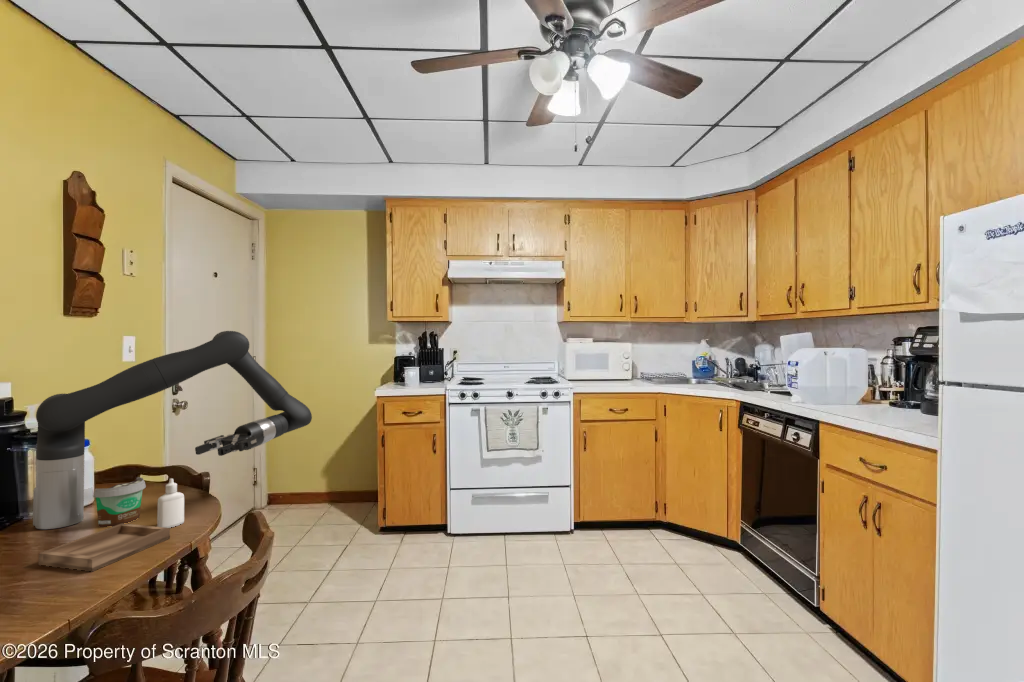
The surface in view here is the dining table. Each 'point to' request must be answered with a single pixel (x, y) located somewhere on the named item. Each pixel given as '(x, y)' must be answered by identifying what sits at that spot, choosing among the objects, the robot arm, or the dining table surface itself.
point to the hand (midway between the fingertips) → (207, 451)
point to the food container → (119, 503)
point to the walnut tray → (104, 547)
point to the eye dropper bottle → (170, 507)
